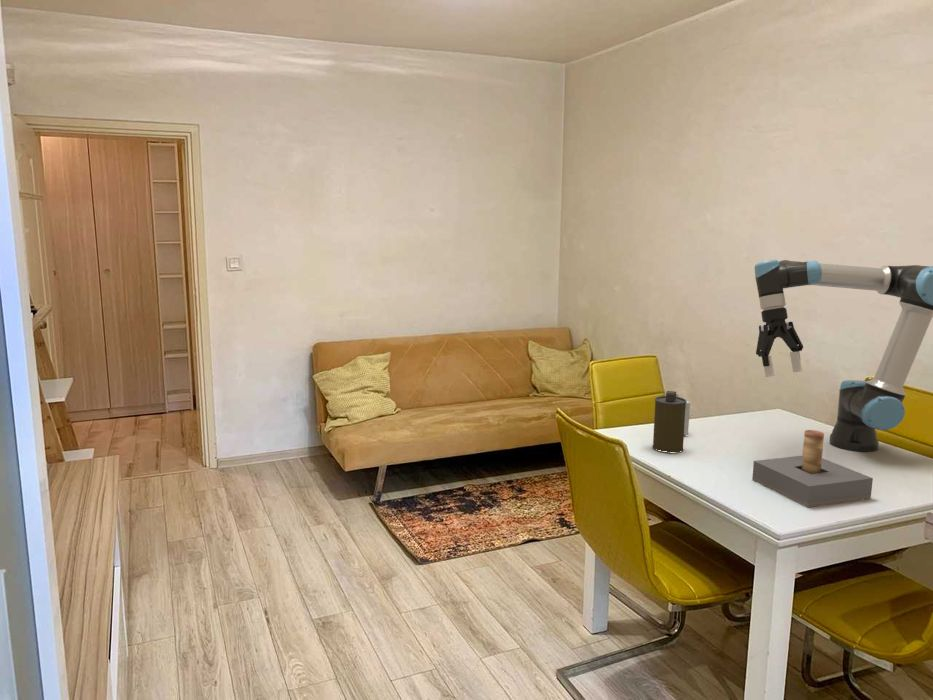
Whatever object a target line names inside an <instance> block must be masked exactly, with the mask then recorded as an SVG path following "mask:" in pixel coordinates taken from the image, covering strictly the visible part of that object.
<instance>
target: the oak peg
mask: <svg viewBox="0 0 933 700" xmlns="http://www.w3.org/2000/svg"><path fill="white" fill-rule="evenodd" d="M803 436H804V437H803V438H804V439H803V445H802V446H803V448H802V456H803V457H802V468H801V470H802V471H805V472H807V473H809V474H816V473H820V472H821V462H822V458H823V449H824V439H825V438H824V436H825V432H823V431H820V430H815V429H806V430H804V435H803Z"/></svg>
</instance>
